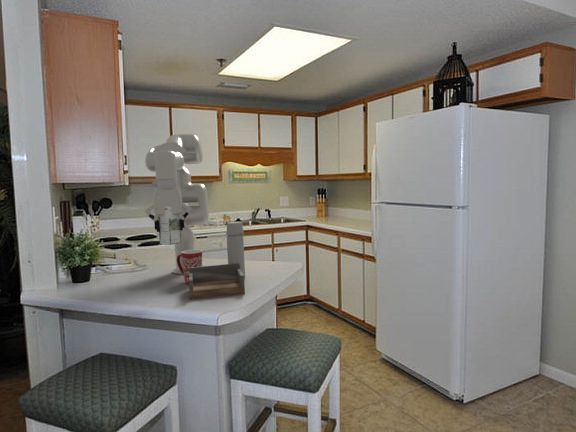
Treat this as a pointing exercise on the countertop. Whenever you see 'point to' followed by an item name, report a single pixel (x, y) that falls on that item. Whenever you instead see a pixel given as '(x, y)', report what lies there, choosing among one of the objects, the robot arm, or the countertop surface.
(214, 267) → the shelf
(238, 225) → the water bottle
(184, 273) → the mug
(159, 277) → the countertop surface
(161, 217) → the syrup box
